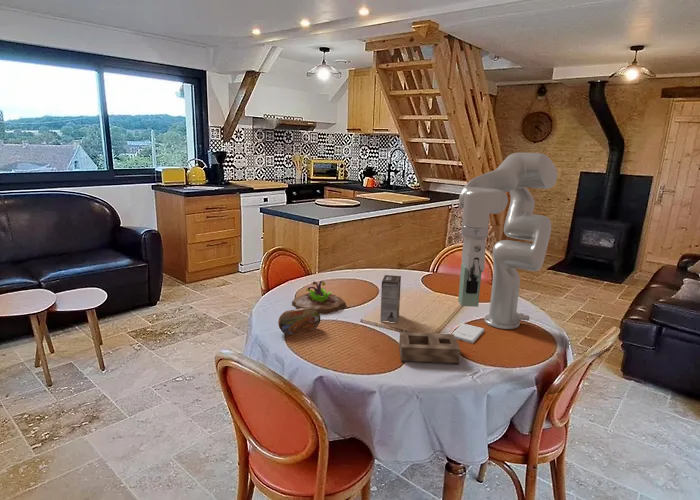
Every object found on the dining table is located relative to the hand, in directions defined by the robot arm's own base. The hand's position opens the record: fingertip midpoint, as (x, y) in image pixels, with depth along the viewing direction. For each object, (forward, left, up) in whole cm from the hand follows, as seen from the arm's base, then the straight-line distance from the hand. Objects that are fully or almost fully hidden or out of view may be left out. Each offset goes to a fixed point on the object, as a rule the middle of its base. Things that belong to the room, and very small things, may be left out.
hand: (469, 289), depth 136 cm
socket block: (+11, +1, -22) cm, 25 cm away
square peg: (0, 0, -5) cm, 5 cm away
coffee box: (+22, -28, -22) cm, 42 cm away
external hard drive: (-4, -16, -23) cm, 28 cm away
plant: (+51, -39, -22) cm, 68 cm away
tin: (+55, -13, -22) cm, 60 cm away
